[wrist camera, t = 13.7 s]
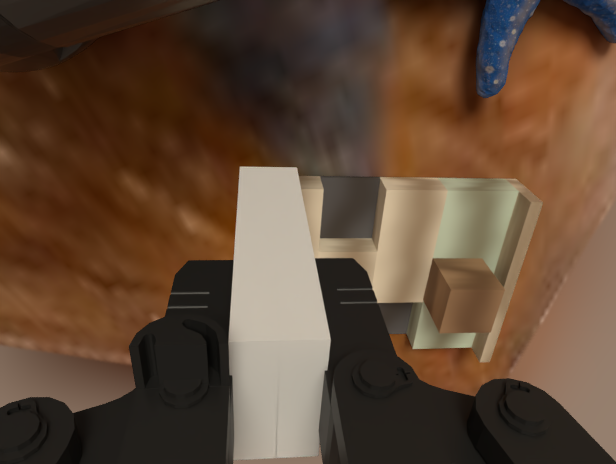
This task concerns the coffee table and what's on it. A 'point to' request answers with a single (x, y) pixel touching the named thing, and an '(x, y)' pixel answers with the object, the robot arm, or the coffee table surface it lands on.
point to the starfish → (508, 26)
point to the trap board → (422, 240)
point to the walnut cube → (462, 295)
